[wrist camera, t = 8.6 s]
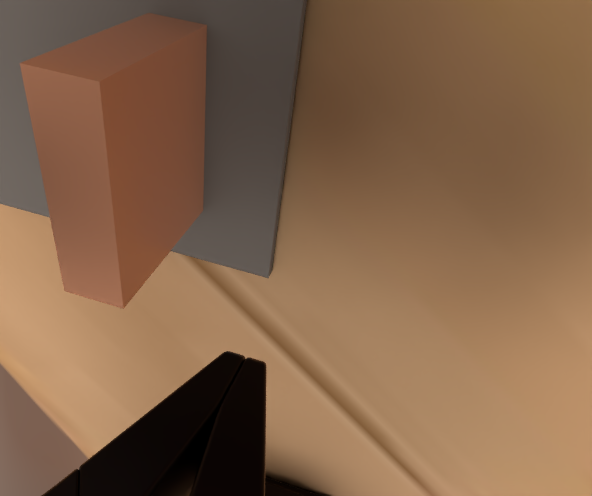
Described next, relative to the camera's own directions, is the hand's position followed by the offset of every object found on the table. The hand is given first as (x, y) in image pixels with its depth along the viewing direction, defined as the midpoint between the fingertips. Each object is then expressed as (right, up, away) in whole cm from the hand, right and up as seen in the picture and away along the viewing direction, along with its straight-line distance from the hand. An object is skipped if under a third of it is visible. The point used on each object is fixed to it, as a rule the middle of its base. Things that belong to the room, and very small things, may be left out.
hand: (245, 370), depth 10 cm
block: (-3, +7, +8) cm, 11 cm away
